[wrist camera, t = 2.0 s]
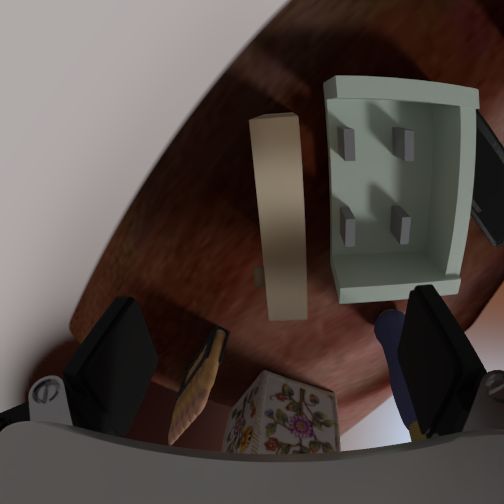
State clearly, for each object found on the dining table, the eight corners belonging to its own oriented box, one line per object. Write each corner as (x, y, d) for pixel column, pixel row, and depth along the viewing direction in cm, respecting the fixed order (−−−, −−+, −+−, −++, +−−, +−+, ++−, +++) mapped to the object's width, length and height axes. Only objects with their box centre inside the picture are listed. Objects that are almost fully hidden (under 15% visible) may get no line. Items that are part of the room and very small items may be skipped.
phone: (468, 99, 21) (535, 203, 24) (463, 98, 22) (529, 200, 25) (422, 155, 24) (496, 251, 27) (418, 153, 25) (491, 247, 28)
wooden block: (253, 115, 25) (228, 122, 15) (292, 112, 25) (298, 116, 14) (265, 242, 30) (253, 321, 20) (301, 240, 30) (307, 319, 19)
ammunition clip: (215, 324, 36) (190, 407, 25) (230, 331, 36) (209, 415, 25) (184, 372, 40) (160, 444, 30) (197, 378, 41) (175, 450, 30)
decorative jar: (338, 391, 39) (347, 510, 23) (295, 429, 44) (291, 529, 28) (260, 365, 38) (244, 496, 22) (227, 408, 43) (205, 514, 27)
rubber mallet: (366, 361, 36) (395, 597, 9) (327, 333, 35) (339, 611, 8) (443, 299, 31) (544, 540, 4) (410, 261, 30) (534, 555, 3)
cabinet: (322, 83, 23) (335, 75, 17) (438, 89, 22) (478, 89, 15) (330, 262, 31) (339, 303, 24) (430, 256, 29) (457, 293, 23)
